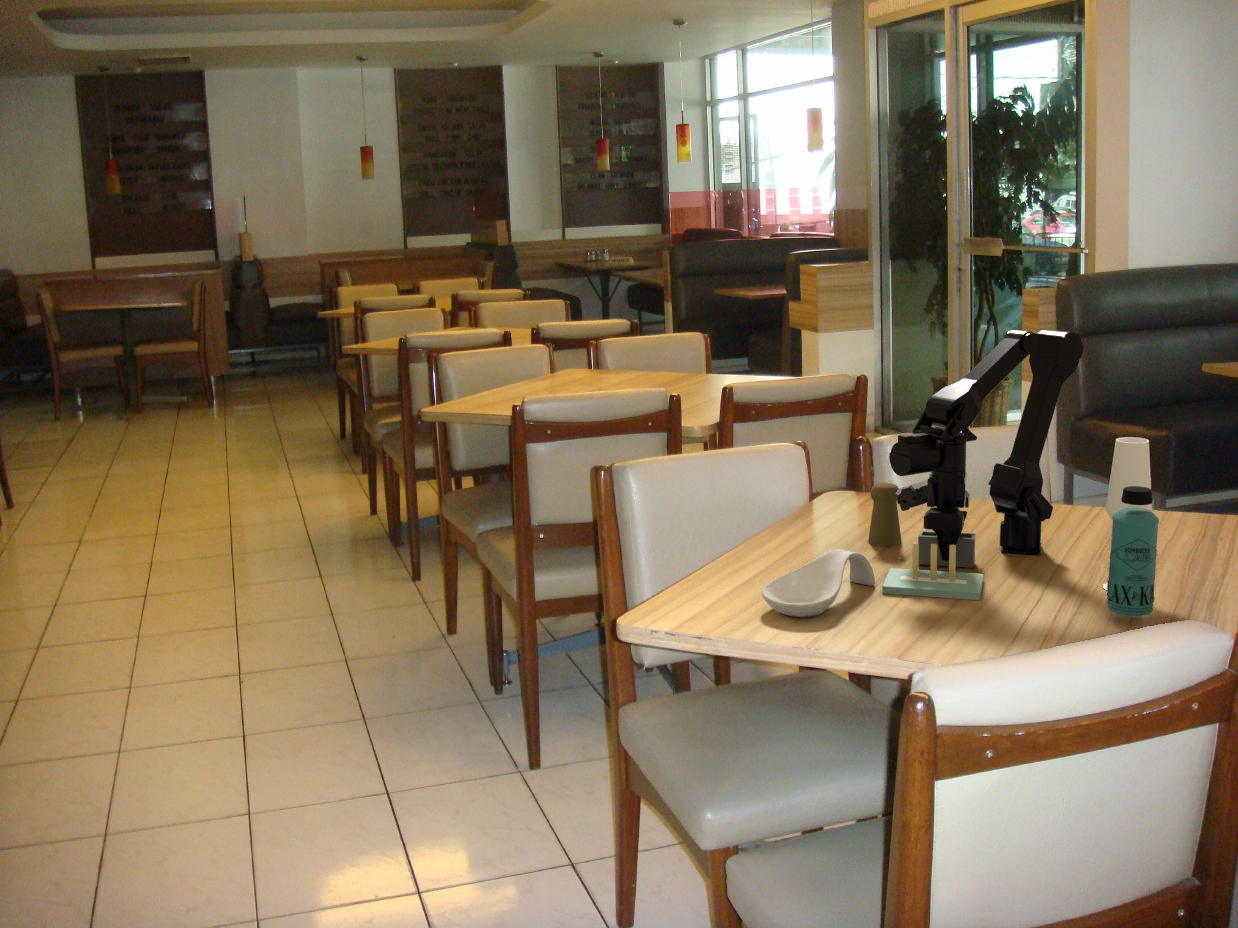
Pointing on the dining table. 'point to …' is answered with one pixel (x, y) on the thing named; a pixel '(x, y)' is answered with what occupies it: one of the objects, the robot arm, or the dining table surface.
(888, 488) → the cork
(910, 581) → the header board
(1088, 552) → the dining table surface
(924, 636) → the dining table surface
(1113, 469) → the white vase
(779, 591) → the spoon rest
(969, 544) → the plug housing
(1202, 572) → the dining table surface
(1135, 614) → the beverage bottle
